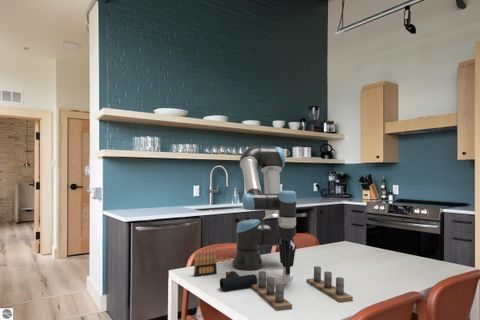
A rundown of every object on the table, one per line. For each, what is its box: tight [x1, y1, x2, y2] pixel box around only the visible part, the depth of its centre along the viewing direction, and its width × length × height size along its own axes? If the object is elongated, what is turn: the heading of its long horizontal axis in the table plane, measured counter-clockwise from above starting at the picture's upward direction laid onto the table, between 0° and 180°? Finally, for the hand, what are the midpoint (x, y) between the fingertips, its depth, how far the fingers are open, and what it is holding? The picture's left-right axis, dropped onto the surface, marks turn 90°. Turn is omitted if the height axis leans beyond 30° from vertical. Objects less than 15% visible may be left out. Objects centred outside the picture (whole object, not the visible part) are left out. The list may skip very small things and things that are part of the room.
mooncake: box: [266, 269, 294, 285], centre depth 155 cm, size 12×12×4 cm
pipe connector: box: [219, 270, 258, 292], centre depth 147 cm, size 12×5×15 cm
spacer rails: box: [251, 265, 354, 312], centre depth 138 cm, size 24×32×8 cm
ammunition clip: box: [193, 248, 218, 278], centre depth 161 cm, size 11×2×12 cm, turn 117°
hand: (286, 281), depth 149 cm, fingers closed
